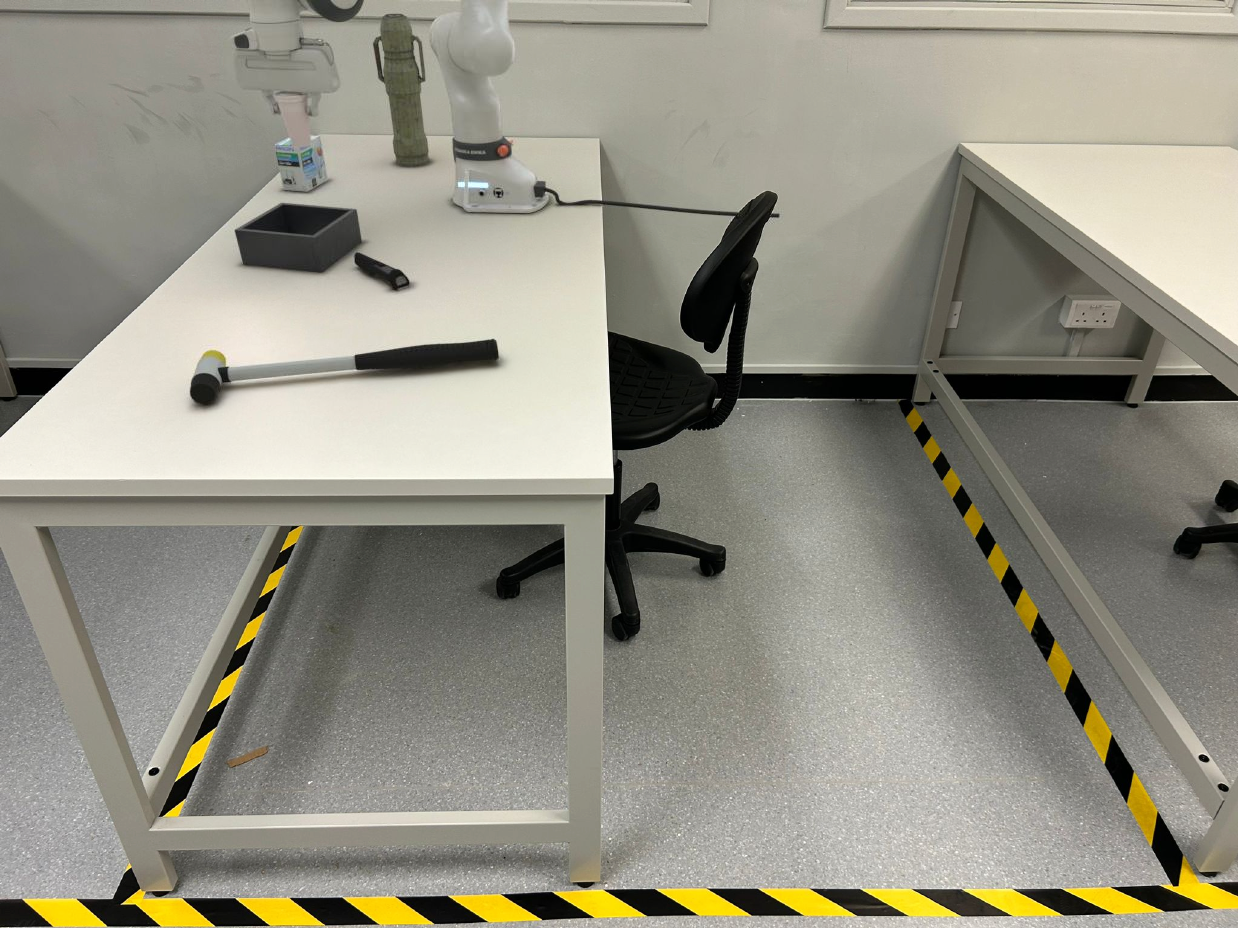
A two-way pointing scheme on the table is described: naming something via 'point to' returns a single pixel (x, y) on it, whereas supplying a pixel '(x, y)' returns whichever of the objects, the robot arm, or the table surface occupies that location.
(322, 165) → the light bulb box
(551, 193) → the robot arm
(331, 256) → the basin
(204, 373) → the hammer
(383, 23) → the thermos
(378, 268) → the electric trimmer
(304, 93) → the smoothie
